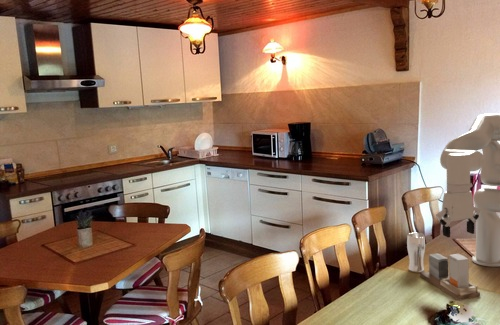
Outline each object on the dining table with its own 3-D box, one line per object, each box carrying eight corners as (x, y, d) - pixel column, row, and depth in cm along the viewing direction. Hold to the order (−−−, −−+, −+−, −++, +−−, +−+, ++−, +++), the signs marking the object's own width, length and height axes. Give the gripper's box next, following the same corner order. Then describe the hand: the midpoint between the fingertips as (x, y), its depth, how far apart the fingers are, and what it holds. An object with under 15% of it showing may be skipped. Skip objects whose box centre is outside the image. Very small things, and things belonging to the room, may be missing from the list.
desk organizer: (439, 273, 179) (439, 250, 178) (480, 296, 157) (480, 270, 155) (419, 276, 177) (419, 253, 176) (457, 300, 155) (457, 274, 154)
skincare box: (448, 285, 164) (448, 254, 162) (459, 284, 164) (459, 253, 163) (458, 292, 158) (458, 260, 156) (469, 290, 158) (469, 258, 157)
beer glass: (426, 272, 180) (426, 237, 178) (408, 272, 181) (408, 237, 179) (423, 266, 187) (423, 232, 185) (406, 266, 188) (405, 232, 186)
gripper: (472, 183, 161) (472, 228, 164) (430, 188, 158) (430, 234, 160) (487, 187, 154) (487, 234, 156) (443, 192, 151) (443, 240, 153)
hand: (458, 234), depth 158 cm, fingers open, 9 cm apart
